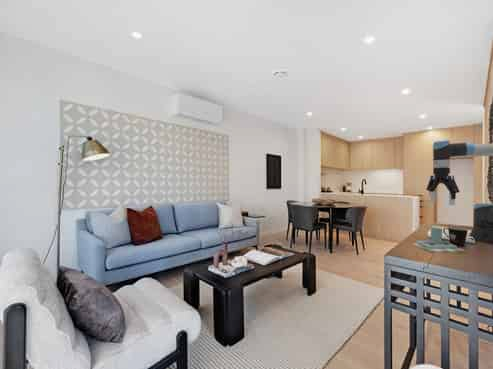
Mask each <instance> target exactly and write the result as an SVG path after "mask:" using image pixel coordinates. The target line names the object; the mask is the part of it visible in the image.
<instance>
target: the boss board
mask: <svg viewBox="0 0 493 369" xmlns="http://www.w3.org/2000/svg"><path fill="white" fill-rule="evenodd" d="M428 241H429V244H430V245H433V244H435V242H434V241H431V240H428ZM442 241H443V243H444V245H448V244H449V243H450V240H449V241H448V240H442ZM412 245H413V246H414V247H416V248H420V249H421V250H424V251H425V252H428V253H430V254H434V253H435V254H436V253H437V254H438V253H441V254H442V253H444V254H445V253H451V254H453V253H465V250H464V249H461V248H460V247H459V248H458V247H457V249H428V248H426V247H423V246H421V245H419V244H417V242H413V243H412Z"/></svg>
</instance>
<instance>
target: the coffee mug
mask: <svg viewBox="0 0 493 369" xmlns="http://www.w3.org/2000/svg"><path fill="white" fill-rule="evenodd" d="M445 230H448V234H447V233H446V231H445ZM468 231H469V229H468V228H465V227H461V226H448V227H444V228H442V233H443V234H444V235H445V236H446V237H447V238H449V243H450V244H452V245H455V246H457V248H458V247H459V248H463V247H466V246H465V245H466V240H467V235H468Z"/></svg>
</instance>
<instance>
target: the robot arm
mask: <svg viewBox="0 0 493 369" xmlns="http://www.w3.org/2000/svg"><path fill="white" fill-rule="evenodd" d="M432 157H433V164H432V166H433V170H432V171H433V173H432V174H433V175H430V176H429V177H430V178H429V181H428V184H427V187H426V191H428V192H429V202H430V203H436V191H435V190H436V188H437V187H438V186H439V184H443V185H444V186H445V187H446V189H447V190H448V192H449V193H448V205H449V206H455V205H456V198H457V197H456V194H457V193H460V189H459V187H458V184H457V183H456V181H455V176H454V175H450V174H451V168H450V167H451V158H461V157H462V158H463V157H465V158H466V157H493V143H473V142H459V143H458V142H457V143H456V142H455V143H451V142H450V140H449V139H444V140H435V141H434V142H433V145H432ZM472 223H473V224H472V225H473V226H472V227H471V230H470V232H469V233H468V234H469V236H471V237H473V238H474V239H475V240H474V241H478V242H483V243H489V244H490V243H491V244H493V203H475V204H474V206H473V222H472ZM469 236H468V237H469Z"/></svg>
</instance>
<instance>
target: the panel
mask: <svg viewBox="0 0 493 369" xmlns="http://www.w3.org/2000/svg"><path fill="white" fill-rule="evenodd" d="M429 241H434V242H435V244H433V245H430V244H429ZM443 241H444V240H443V228H442V227H437V226H431V227H430V240H417V241H416V243H417V244H419V245H421V246H423V247H426V248H428V249H457V248H458V247H457V246H455V245H452V244H450V242H449V244H448V245H444V243H443Z"/></svg>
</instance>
